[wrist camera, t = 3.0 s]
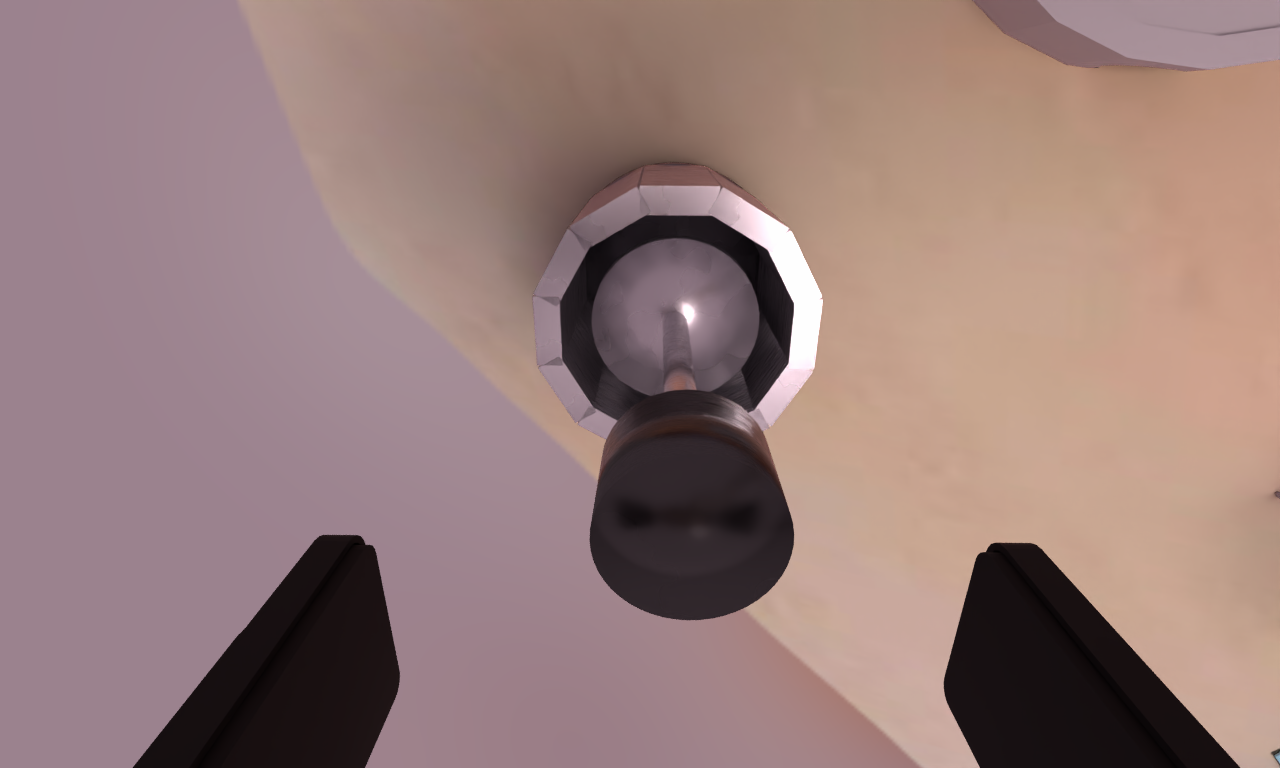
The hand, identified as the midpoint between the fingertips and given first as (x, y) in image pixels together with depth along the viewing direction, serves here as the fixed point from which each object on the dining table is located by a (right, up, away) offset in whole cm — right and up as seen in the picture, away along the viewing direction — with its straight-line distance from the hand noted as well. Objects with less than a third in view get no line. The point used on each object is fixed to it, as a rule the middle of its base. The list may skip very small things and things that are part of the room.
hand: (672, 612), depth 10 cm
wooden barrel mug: (+1, +8, +20) cm, 22 cm away
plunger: (+1, +6, +13) cm, 15 cm away
